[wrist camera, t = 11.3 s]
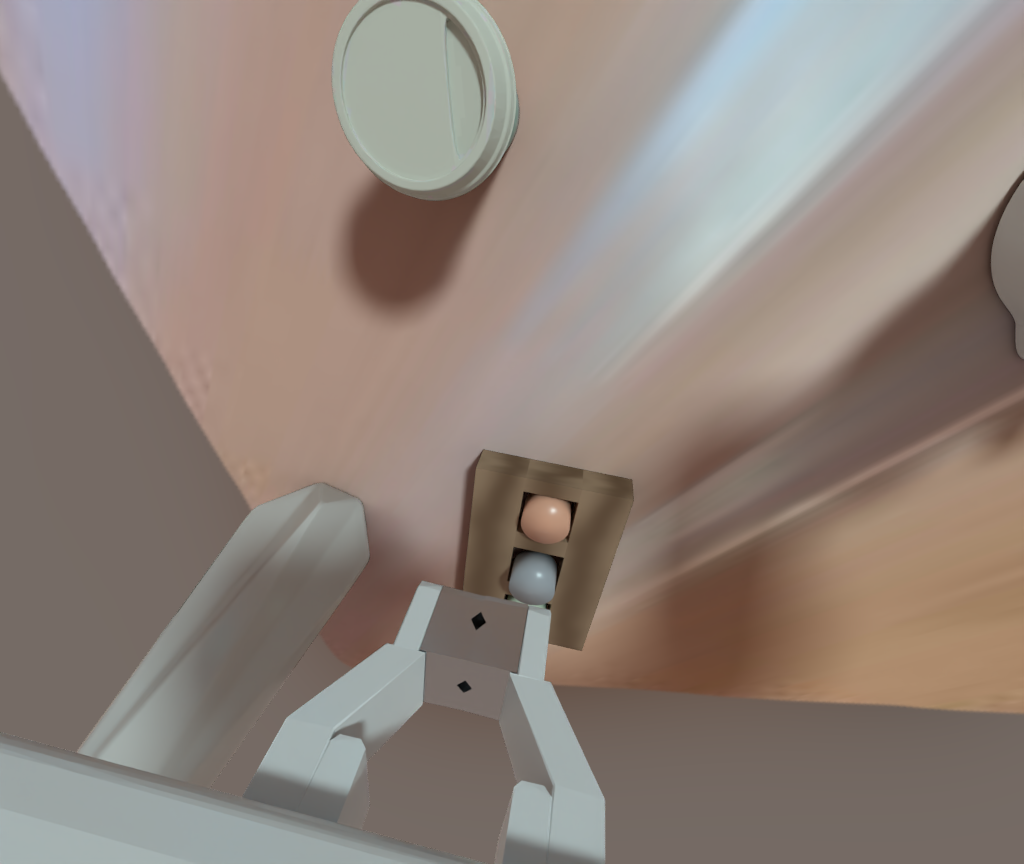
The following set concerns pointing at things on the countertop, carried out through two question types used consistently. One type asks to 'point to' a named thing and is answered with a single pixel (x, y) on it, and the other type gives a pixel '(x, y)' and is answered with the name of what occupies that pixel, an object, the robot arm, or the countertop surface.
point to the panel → (581, 550)
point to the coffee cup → (425, 93)
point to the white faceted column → (236, 637)
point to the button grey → (533, 578)
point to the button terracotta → (546, 518)
